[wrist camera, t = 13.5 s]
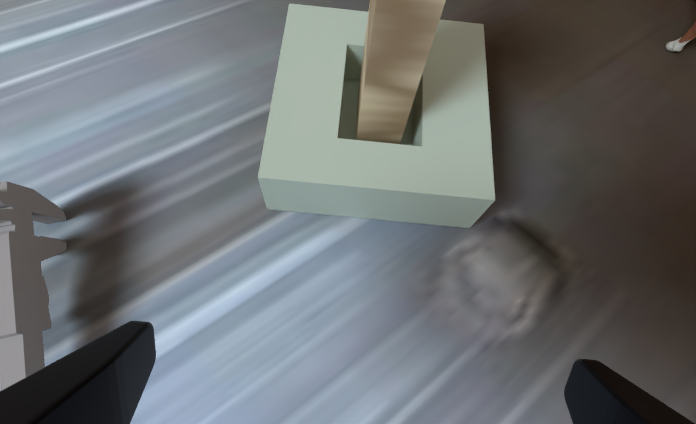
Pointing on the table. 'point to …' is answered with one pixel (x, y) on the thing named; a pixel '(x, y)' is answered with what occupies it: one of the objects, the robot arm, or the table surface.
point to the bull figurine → (682, 40)
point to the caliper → (24, 280)
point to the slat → (393, 65)
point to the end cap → (376, 157)
